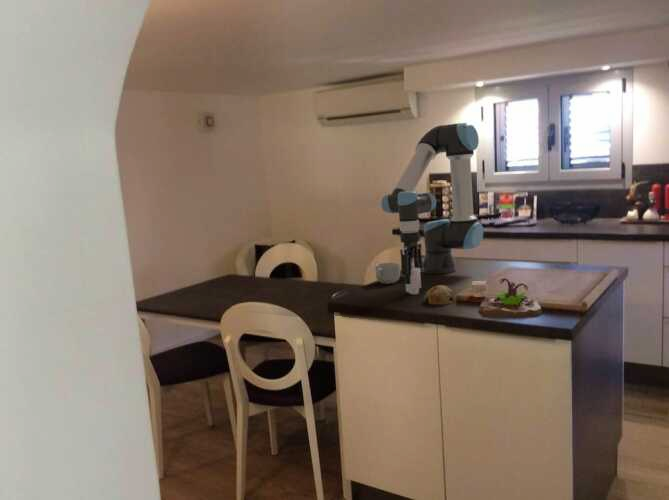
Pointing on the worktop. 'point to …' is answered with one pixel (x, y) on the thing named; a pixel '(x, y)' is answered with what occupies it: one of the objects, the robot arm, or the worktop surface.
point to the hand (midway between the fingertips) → (413, 289)
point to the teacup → (387, 272)
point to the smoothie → (415, 279)
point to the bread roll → (439, 295)
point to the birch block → (479, 286)
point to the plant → (511, 304)
